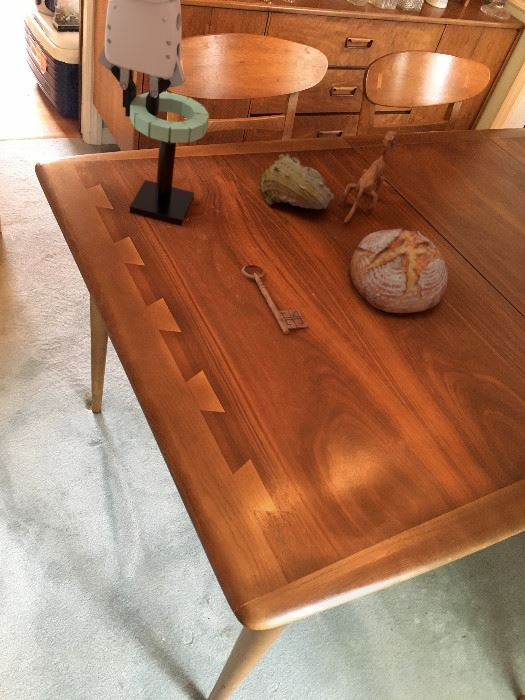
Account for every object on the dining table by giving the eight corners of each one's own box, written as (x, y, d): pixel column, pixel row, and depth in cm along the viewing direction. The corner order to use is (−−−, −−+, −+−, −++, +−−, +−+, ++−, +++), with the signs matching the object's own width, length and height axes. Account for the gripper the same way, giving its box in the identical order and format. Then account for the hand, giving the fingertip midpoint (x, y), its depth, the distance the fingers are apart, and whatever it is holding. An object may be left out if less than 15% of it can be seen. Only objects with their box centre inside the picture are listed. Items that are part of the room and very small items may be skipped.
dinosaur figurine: (358, 235, 103) (385, 169, 93) (326, 220, 104) (349, 153, 94) (385, 194, 115) (411, 132, 105) (356, 182, 116) (380, 119, 106)
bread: (331, 299, 91) (346, 249, 83) (365, 240, 104) (380, 192, 97) (428, 337, 87) (452, 288, 80) (449, 271, 101) (472, 224, 94)
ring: (120, 130, 82) (120, 115, 80) (143, 98, 90) (144, 85, 88) (197, 150, 82) (198, 136, 81) (213, 117, 90) (215, 104, 89)
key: (307, 332, 83) (269, 266, 92) (309, 327, 83) (271, 262, 91) (273, 335, 81) (238, 267, 89) (275, 331, 80) (239, 263, 88)
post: (129, 212, 94) (131, 145, 85) (144, 185, 100) (148, 120, 91) (181, 225, 94) (189, 160, 85) (193, 198, 100) (201, 134, 91)
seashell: (320, 233, 103) (342, 187, 96) (247, 203, 102) (264, 154, 95) (327, 204, 111) (348, 159, 104) (260, 176, 110) (276, 129, 103)
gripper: (211, -12, 76) (196, 118, 89) (95, -44, 75) (97, 92, 88) (199, 4, 70) (185, 140, 84) (74, -30, 70) (80, 112, 83)
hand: (140, 114), depth 86 cm, fingers closed on ring, 2 cm apart
